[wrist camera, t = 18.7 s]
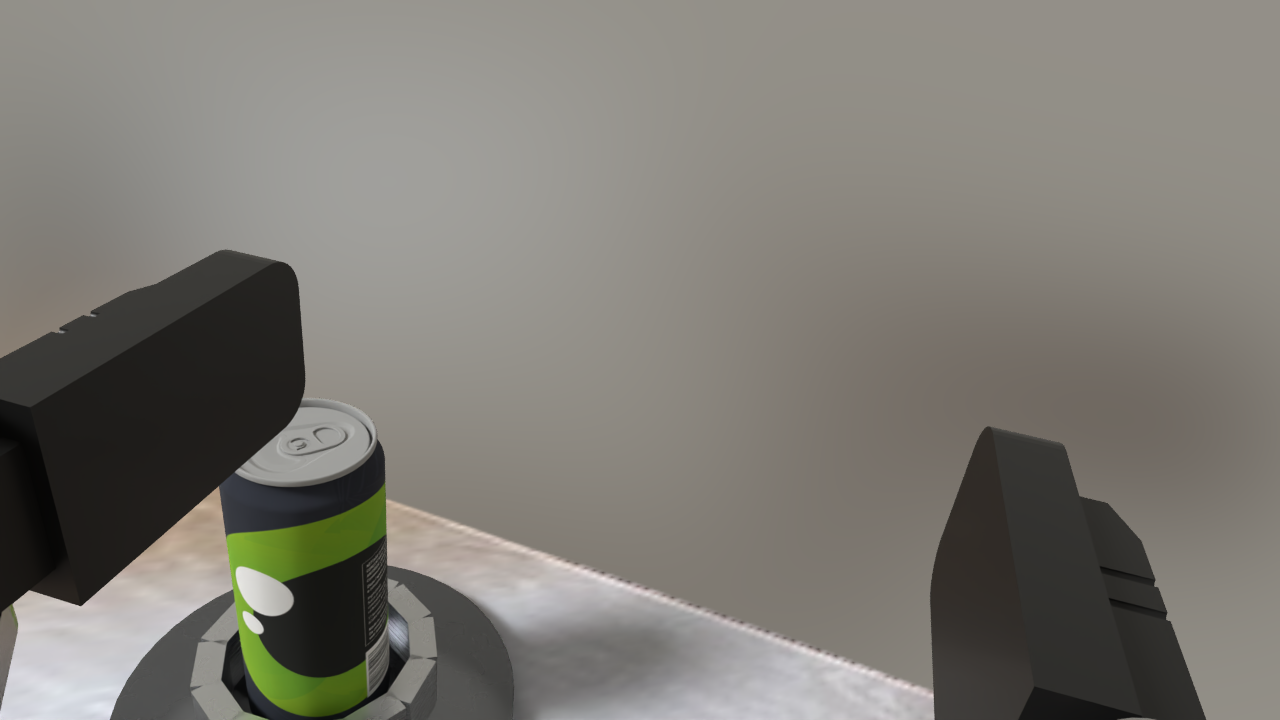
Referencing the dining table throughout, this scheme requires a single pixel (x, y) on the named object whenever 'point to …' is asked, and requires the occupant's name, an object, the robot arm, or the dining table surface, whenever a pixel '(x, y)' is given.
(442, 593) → the rosette
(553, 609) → the dining table surface
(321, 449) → the beverage can
